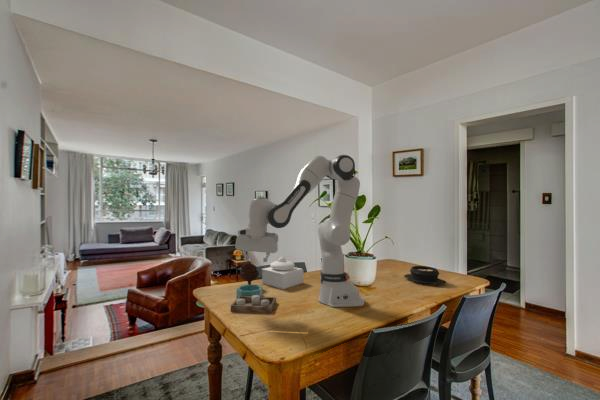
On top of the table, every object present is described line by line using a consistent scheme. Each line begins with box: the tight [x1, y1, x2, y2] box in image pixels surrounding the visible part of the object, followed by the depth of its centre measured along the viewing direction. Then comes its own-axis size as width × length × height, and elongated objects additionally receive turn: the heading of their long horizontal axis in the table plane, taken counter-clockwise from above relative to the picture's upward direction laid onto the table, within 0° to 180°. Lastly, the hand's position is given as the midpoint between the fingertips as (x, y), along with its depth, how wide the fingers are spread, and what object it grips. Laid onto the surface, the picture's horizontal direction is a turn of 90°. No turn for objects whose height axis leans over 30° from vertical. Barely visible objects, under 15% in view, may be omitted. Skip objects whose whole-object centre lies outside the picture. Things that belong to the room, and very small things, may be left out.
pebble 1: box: [236, 298, 245, 305], centre depth 129 cm, size 4×4×4 cm
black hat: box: [403, 265, 447, 285], centre depth 178 cm, size 25×19×8 cm
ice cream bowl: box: [239, 261, 260, 285], centre depth 161 cm, size 11×11×15 cm
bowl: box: [236, 283, 263, 299], centre depth 146 cm, size 12×12×5 cm
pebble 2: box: [252, 295, 260, 306], centre depth 134 cm, size 4×4×4 cm
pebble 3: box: [261, 299, 269, 306], centre depth 128 cm, size 4×4×4 cm
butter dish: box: [261, 256, 304, 290], centre depth 172 cm, size 18×18×16 cm
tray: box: [230, 296, 277, 314], centre depth 131 cm, size 18×13×3 cm
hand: (255, 261), depth 135 cm, fingers open, 8 cm apart
